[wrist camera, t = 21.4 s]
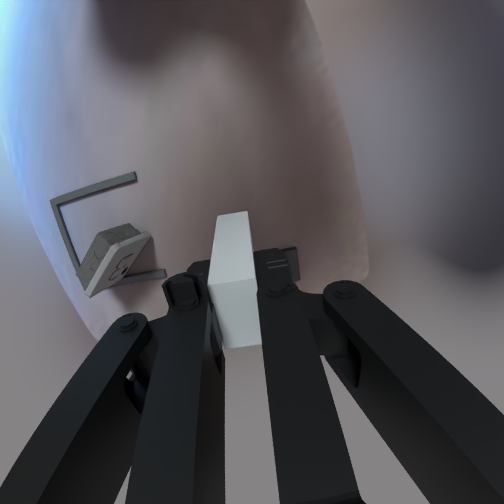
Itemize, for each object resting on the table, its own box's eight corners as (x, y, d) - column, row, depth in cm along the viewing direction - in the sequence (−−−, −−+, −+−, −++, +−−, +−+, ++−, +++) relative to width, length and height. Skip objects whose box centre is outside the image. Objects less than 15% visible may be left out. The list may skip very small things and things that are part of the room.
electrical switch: (123, 277, 45) (97, 307, 37) (98, 257, 44) (68, 283, 35) (153, 233, 43) (128, 257, 34) (126, 211, 41) (96, 230, 33)
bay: (51, 199, 39) (49, 200, 39) (135, 171, 39) (133, 172, 38) (86, 289, 46) (84, 291, 45) (166, 274, 45) (165, 276, 45)
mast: (261, 253, 45) (271, 310, 32) (295, 246, 44) (318, 300, 32) (267, 282, 47) (278, 344, 34) (299, 276, 47) (321, 336, 34)
